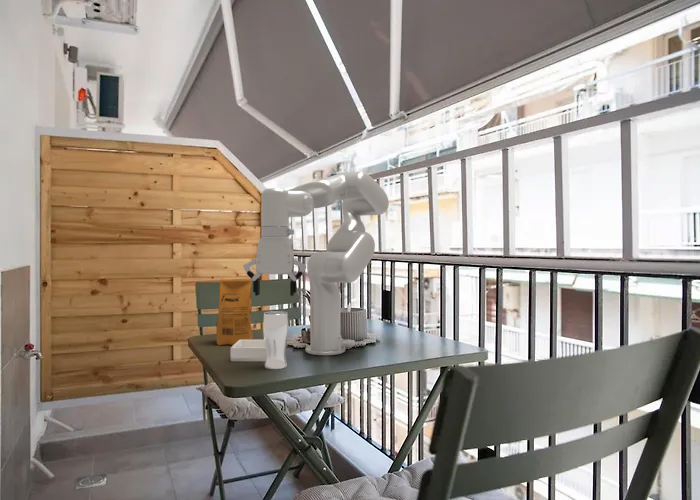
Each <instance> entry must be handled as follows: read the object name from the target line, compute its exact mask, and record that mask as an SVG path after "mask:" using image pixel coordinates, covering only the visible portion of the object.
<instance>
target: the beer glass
mask: <svg viewBox="0 0 700 500" xmlns="http://www.w3.org/2000/svg"><path fill="white" fill-rule="evenodd" d="M262 336H263V340H264V342H265V348H266V361H264V368H265V369H268V370H282V369H286V368H287V366H288V364H287V357H286V349H287V343H288V337H289V317H288V312H287V311H275V310H274V311H265V312H263V319H262Z"/></svg>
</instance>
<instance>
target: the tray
mask: <svg viewBox="0 0 700 500" xmlns="http://www.w3.org/2000/svg"><path fill="white" fill-rule="evenodd" d="M265 361H266V348H265V342H264V339H252V340H239V341H237V342H236V343H235V344H234V345H232V346H231V347H230V362H265Z"/></svg>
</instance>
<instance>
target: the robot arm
mask: <svg viewBox="0 0 700 500" xmlns="http://www.w3.org/2000/svg"><path fill="white" fill-rule="evenodd" d="M341 201H342V202H341ZM338 202H341V208H342V209H341V210H342V219H343V221H342V224H341V225H340V227H339V228H338V229H337V230H336V232H335V233H334V234H333V236H332V237H330V239H329V241H328V243H327V246H326V251H319V252H314V253H313V254H311V255H310V257H309V258H308V259H307V265H306V264H305V263H303V262H300V260H296V259H295V254H294V246H293V244H294V243H293V239H292V238H290V236H291V235H295V229H292V228H290V218H296V217H297V218H300V217H305V216H308V215H309V214H311V213H312V211H313V209H322V208H326V207H329V206H331V205H334V204H336V203H338ZM389 203H390V202H389V197H388V195H387V193H386V191H385V190H384V189H383V188H382V187H381V186H380V185H379V184H378V182H377V181H376V180H375V179H374V178H373V177H372V176H370V174H367V173H366V172H364V171H353V172H343V173H337V174H334V175H331V176H328V177H325V178H321V179H318V180H314V181H310V182H307V183H304V184H300V185H295V186H292V187H287V188H277V187H276V188H275V187H274V188H273V187H272V188H265V189H263V190H262V193H261V238H259V239H258V241H257V249H256V250H257V251H256V256H255V257H256V258H255V259H253V260H250V261H249V262H247V263H245V264H243V269H244V271H245V272H246V275H247V276H248V277H249V279H251V281H252V286H253V287H252V292H253V293H254V295H255V296H260V295H261V294H260V293H261V285H260V283H261V281H260V277H261V276H262V275H287V276H288V277H289V278H290V279H291V281H290V284H289V289H290V290H289V292H290V293H289V294H290V295H289V296H291V297H293V296H294V295H295V293H297V280H299V279H300V278H301V277H302V276H303V274H304V272H305V270H307V276H308V281H309V289H310V290H309V292H310V299H309V300H310V306H309V307H310V310H309V311H310V313H309V314H310V320H309V321H310V324H309V325H310V326H309V327H310V336H309V337H310V345H307V346H306V347H305V353H306V354H308V355H309V354H310V355H313V356H314V355H315V356H335V355H341V354H343V353H345V352H346V347H355V345H356V344H355V339H351V338H350V339H349V338H348V339H345V338H343V337H342V334H341V302H342V301H341V293H340V290H339V288H338V285H337V284H336V283H339V284H341V283H343V284H350V283H353V282H354V283H355V282H356V281H357V280H358V279H359V278H360V276H361V275H362V273H364V270H365V269H366V267H367V266H368V264H369V263H370V262H371V260H372V258H373V257H374V254H375V251H376V249H375V248H376V242H375V239H374V237H373V236H372V234H371V233H370V232H367V231H366V227H365V225H364V223H363V221H362V219H361V216H379V215H383V214H384V213H386V211H388V209H389ZM253 266H255V271H256V272H255V273H254V272H253V271H252V270H251V267H253ZM295 266H297V267H298V268H299V270H298V272H297V273H296V274H295V272H294V269H295Z"/></svg>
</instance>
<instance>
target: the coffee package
mask: <svg viewBox="0 0 700 500" xmlns="http://www.w3.org/2000/svg"><path fill="white" fill-rule="evenodd" d="M252 286H253V281H252V279H251V278H249V279H240V280H239V279H238V280H237V279H236V280H233V279H232V280H231V279H222V278H221V279H220V282H219V300H218V315H217V319H216V325H215V329H216V344H217V346H222V345H223V346H225V345H230V346H231V345H232V346H233V345H234V344H235V343H236V342H237V341H239V340H254V334H253V329H252V323H251V321H252V318H251V316H252V311H253V310H252V298H251V297H252V296H251V295H252Z"/></svg>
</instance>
